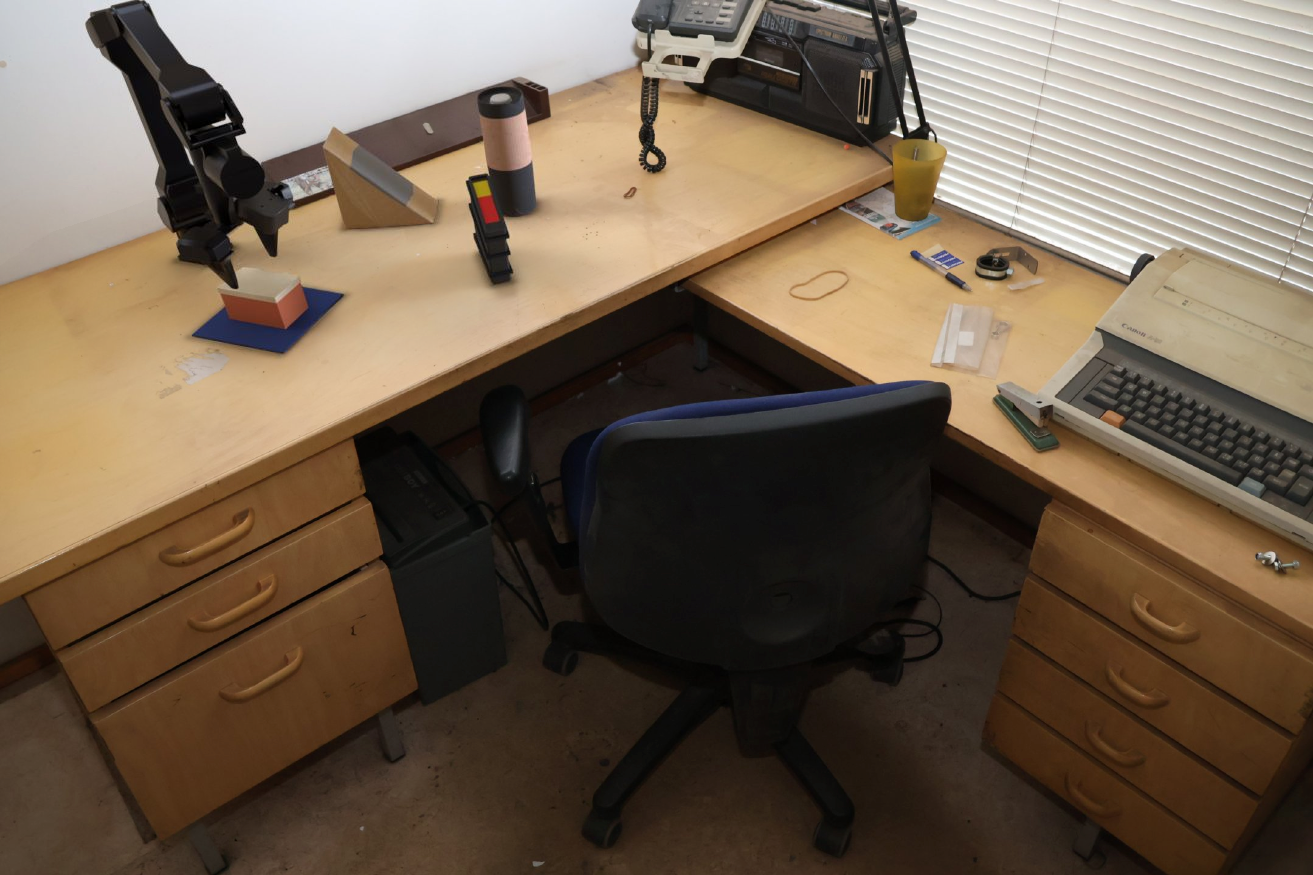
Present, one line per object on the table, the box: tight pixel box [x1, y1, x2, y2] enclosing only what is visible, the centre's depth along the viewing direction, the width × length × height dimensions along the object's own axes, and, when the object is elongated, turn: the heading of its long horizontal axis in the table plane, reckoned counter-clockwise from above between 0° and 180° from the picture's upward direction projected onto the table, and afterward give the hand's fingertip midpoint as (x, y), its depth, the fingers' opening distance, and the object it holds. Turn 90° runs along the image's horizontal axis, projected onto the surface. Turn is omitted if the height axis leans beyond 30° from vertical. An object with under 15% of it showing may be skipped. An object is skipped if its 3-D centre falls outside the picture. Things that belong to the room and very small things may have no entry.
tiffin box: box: [216, 266, 308, 329], centre depth 150 cm, size 10×6×6 cm, turn 71°
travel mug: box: [476, 85, 537, 218], centre depth 169 cm, size 8×8×20 cm
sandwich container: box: [322, 126, 439, 230], centre depth 170 cm, size 9×15×15 cm, turn 93°
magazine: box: [465, 172, 514, 285], centre depth 156 cm, size 4×13×15 cm
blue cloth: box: [191, 286, 345, 355], centre depth 152 cm, size 16×16×1 cm
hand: (254, 272), depth 147 cm, fingers open, 9 cm apart
